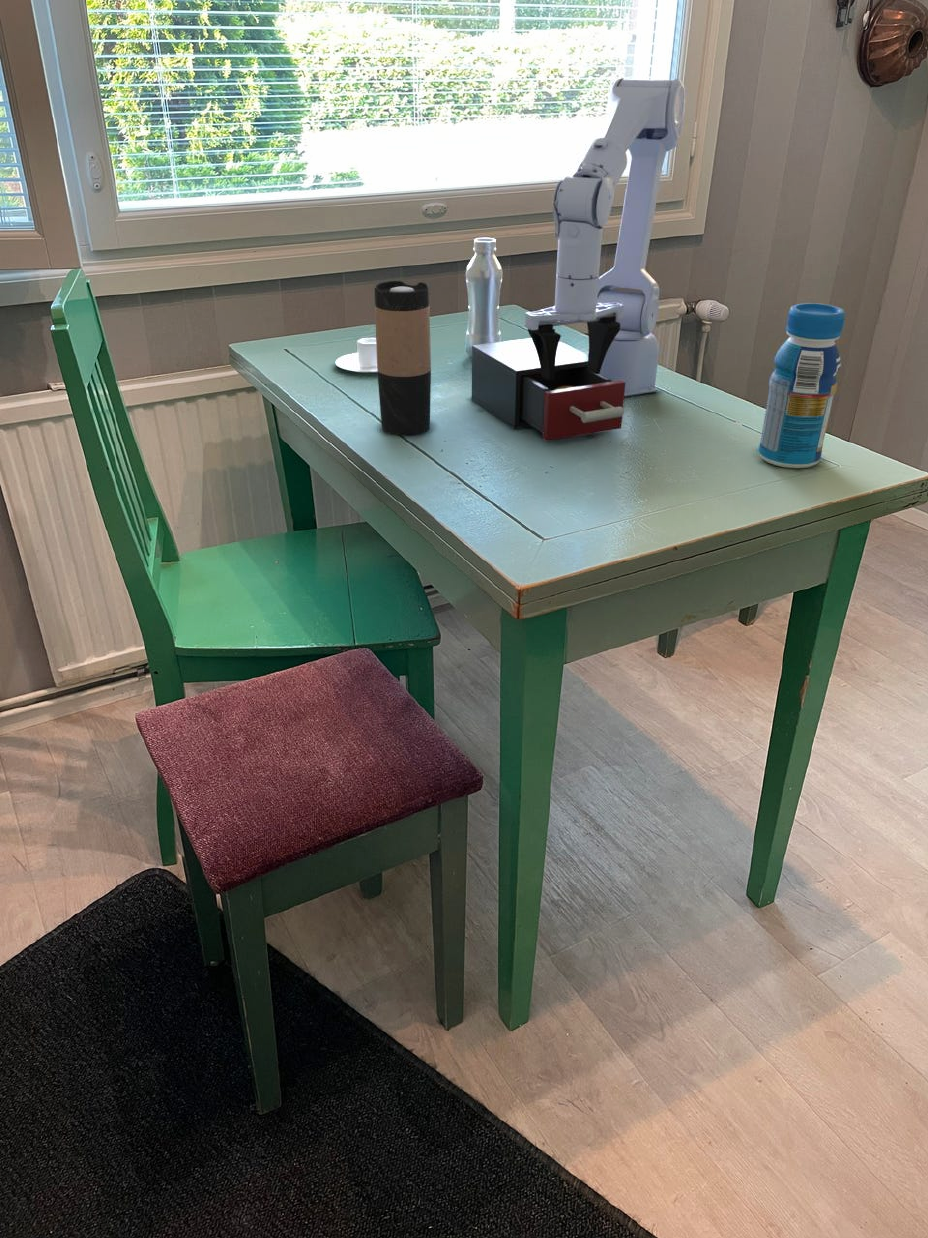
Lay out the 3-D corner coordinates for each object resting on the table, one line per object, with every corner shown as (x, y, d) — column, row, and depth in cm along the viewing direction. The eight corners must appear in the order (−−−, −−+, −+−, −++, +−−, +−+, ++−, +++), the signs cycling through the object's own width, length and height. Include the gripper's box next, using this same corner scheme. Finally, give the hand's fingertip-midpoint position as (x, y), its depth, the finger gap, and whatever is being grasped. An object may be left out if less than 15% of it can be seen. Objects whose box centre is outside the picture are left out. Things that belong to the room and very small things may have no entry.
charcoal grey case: (593, 415, 142) (598, 359, 138) (514, 429, 137) (516, 370, 133) (545, 388, 154) (548, 335, 149) (471, 399, 149) (471, 345, 144)
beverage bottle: (743, 455, 129) (768, 306, 118) (782, 442, 133) (810, 297, 123) (794, 475, 123) (826, 320, 113) (833, 461, 127) (867, 310, 117)
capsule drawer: (639, 439, 132) (645, 391, 128) (563, 452, 127) (566, 404, 124) (572, 400, 146) (575, 357, 142) (502, 411, 141) (503, 366, 138)
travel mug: (392, 439, 133) (387, 294, 123) (371, 423, 139) (364, 283, 129) (440, 431, 136) (439, 288, 126) (418, 415, 142) (415, 277, 132)
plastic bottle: (507, 356, 169) (511, 238, 159) (488, 365, 164) (491, 244, 154) (477, 350, 172) (479, 234, 161) (457, 359, 167) (458, 240, 157)
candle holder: (401, 376, 159) (401, 350, 156) (331, 375, 159) (329, 350, 157) (407, 356, 169) (406, 332, 167) (340, 355, 169) (339, 331, 167)
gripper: (545, 286, 120) (540, 390, 127) (639, 276, 125) (629, 376, 132) (519, 275, 125) (515, 375, 132) (610, 266, 131) (602, 363, 138)
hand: (571, 375), depth 133 cm, fingers open, 7 cm apart
